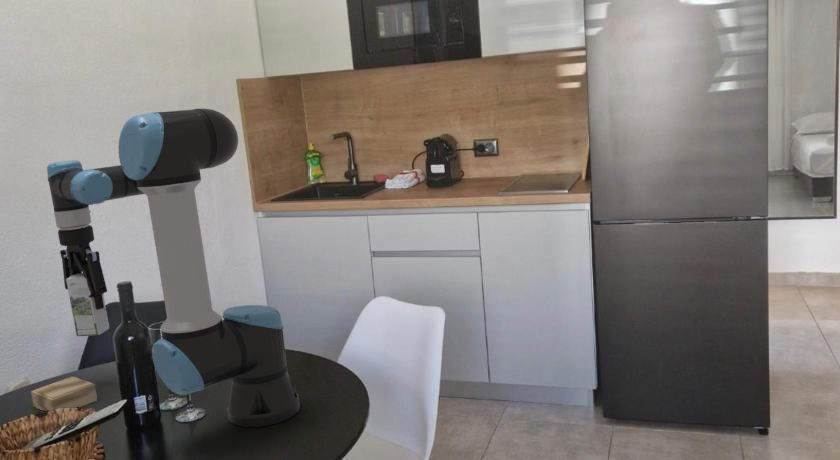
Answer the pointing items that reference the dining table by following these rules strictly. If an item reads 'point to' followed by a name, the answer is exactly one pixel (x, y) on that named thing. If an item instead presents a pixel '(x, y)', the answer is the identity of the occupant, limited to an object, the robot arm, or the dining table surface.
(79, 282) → the syrup box
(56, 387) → the oak riser block
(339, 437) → the dining table surface
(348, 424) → the dining table surface
